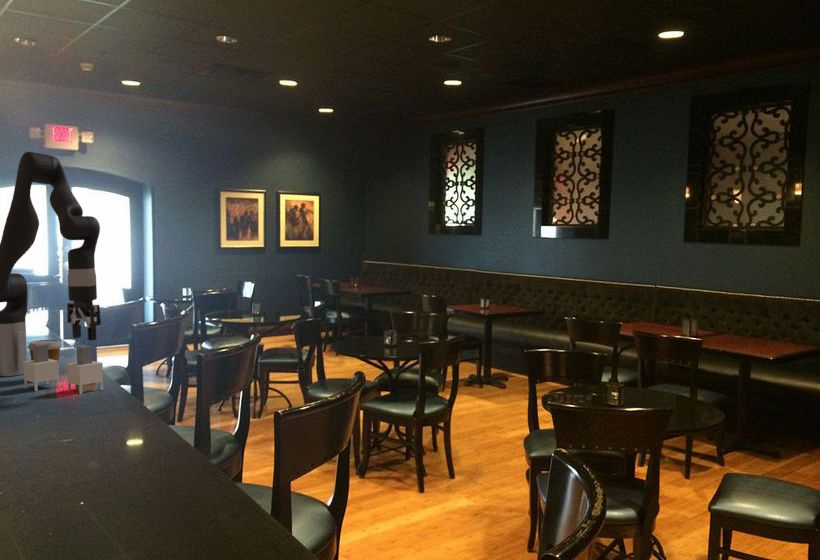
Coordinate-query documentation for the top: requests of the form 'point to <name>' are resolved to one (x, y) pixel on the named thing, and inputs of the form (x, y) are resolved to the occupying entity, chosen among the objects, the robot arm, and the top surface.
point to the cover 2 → (84, 369)
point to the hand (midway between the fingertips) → (84, 338)
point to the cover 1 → (41, 367)
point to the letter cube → (86, 387)
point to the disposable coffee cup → (52, 348)
